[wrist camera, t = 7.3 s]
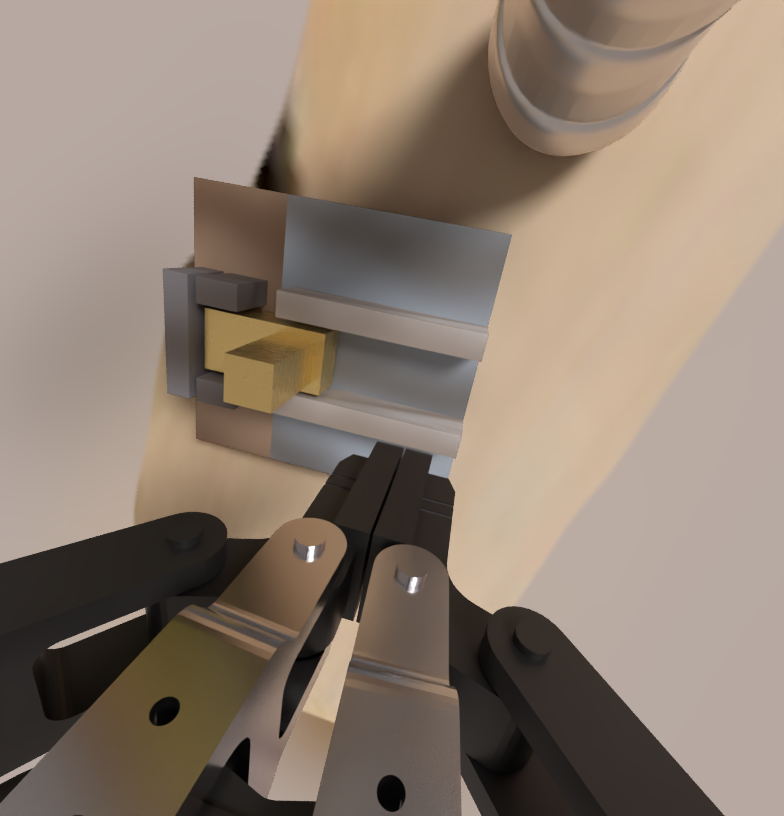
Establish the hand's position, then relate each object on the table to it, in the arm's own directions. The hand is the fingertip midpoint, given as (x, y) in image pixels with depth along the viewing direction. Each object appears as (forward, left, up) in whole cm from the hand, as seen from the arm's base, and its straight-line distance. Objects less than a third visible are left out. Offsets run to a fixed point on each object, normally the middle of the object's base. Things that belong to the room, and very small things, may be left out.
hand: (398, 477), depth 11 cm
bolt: (0, -8, -10) cm, 13 cm away
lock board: (0, -6, -12) cm, 13 cm away
